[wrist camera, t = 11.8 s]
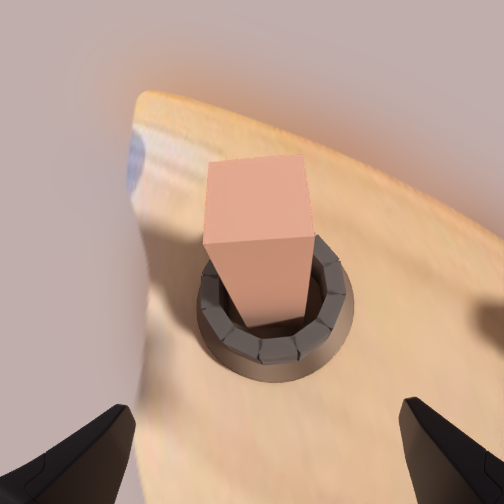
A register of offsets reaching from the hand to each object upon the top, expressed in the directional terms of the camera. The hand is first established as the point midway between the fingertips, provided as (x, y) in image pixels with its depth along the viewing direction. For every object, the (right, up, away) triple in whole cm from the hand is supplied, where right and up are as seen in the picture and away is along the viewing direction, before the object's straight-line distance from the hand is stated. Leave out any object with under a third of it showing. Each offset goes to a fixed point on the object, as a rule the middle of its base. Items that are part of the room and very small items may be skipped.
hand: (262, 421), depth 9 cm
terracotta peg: (+1, +1, +15) cm, 15 cm away
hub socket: (+1, +1, +16) cm, 16 cm away
